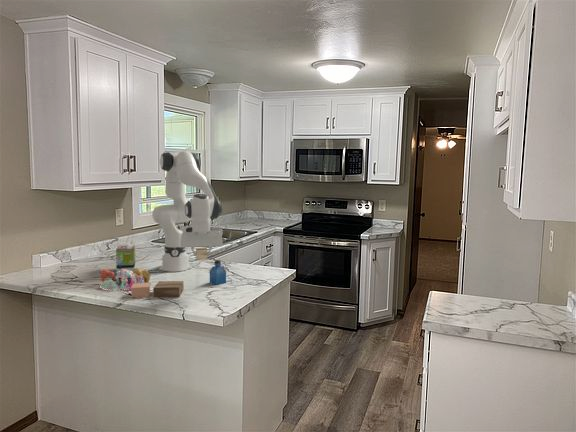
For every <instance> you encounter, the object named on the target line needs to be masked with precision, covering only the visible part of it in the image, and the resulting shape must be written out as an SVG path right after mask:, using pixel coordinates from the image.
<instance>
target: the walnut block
mask: <svg viewBox="0 0 576 432" xmlns="http://www.w3.org/2000/svg"><path fill="white" fill-rule="evenodd" d="M184 286H185V284H184V280H168V281H167V280H159V281H158V282H157V283H156V285H154V287H152V289H153V291H152V292H153V293H152V294H153V298H154V297H158V298H159V299H160V298H180V297H181V295H182V293H183V292H184V291H185V290H184V289H185V288H184Z"/></svg>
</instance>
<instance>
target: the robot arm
mask: <svg viewBox="0 0 576 432" xmlns="http://www.w3.org/2000/svg"><path fill="white" fill-rule="evenodd" d="M200 165H201V160H200V156H199V155H198V154H197V153H193V152H190V151H188V150H184V151H176V152H169V151H166V152H163V153H162V154H161V155H160V159H159V166H160V168H161V170H163V171H164V172H166V174H165V187H164V189H165V190H164V191H165V195H166V196H167V198H169V199H172V200H173V201H172V202H173V203H172V204H161V205H157V206H155V207H154V209H153V210H152V214H151V215H152V219H153V221H154V222H155V223H156V224H158V225H159V226H160V227H161V229H162V230H163V233H164V243H165V245H164V254H162V256H161V261H162V262H161V266H160V267H159V268H158V271H164V272H169V273H170V272H172V273H173V272H183V271H186V270H190V269H192V265H191V264H189V255H188V253H186V248H190V250H191V252H192V253H193V257H196V256H197V252H196V250H195V248H209V249H208V250H207V256H210V255H211V251H212V250H213V247H221V246H222V245H223V237H222V236H223V234H224V230H223V229H222V227H219V226H217V227H215V226H214V227H213V226H212V227H211V220H212V219H213V220H217V219H218V218H219V217H220V216H221V215H222V214H223V206H222V204H221V201H220V200H219V199H218V197H217V194H216V193H215V191H214V188H213V187H212V185H211V183H210V181H209V178H208V177H207V176H205V175H204V174H203V173H202V172H201V171H200V169H199V168H200ZM186 186H187V187H192V188H196V189H199V190H200V191H202V192H203V193H196V194H193V196H192V198H191V199H190V200H188V199H187V197H186ZM189 221H191V224H188V225H187V224H186V225H185V226H183V227H182V230H181V229H180V228H177V226H176V223H187V222H189Z"/></svg>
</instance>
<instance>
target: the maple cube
mask: <svg viewBox="0 0 576 432" xmlns="http://www.w3.org/2000/svg"><path fill="white" fill-rule="evenodd" d="M195 248H196V249H195V252H197V256H195V257H196V261H207V260H208V255H207V251H208V249H207V248H208V247H195Z"/></svg>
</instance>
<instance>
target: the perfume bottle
mask: <svg viewBox="0 0 576 432" xmlns="http://www.w3.org/2000/svg"><path fill="white" fill-rule="evenodd" d="M221 265H222V262H221V259H216V260H214V266H212V267H211V268H210V270H209V283H210V284H212V285H215V286H218V285H222V284H223V285H224V284H226V283H227V271H226V269H225V268H224V266H223V265H222V266H221Z"/></svg>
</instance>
